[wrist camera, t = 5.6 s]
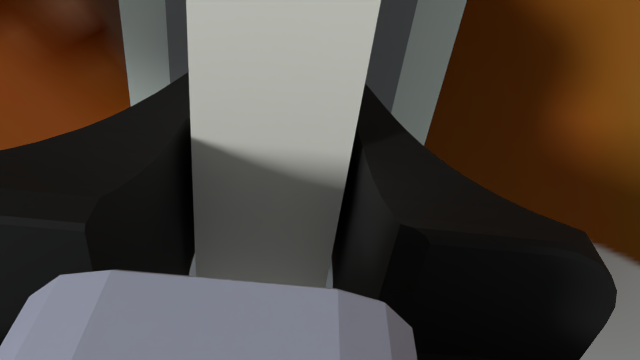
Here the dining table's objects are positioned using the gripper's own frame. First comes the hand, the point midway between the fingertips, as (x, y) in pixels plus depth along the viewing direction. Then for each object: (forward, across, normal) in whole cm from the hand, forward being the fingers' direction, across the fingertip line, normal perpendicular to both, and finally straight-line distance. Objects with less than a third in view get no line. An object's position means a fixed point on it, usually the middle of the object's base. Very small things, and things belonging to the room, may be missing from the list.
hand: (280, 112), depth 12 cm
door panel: (+3, 0, 0) cm, 3 cm away
